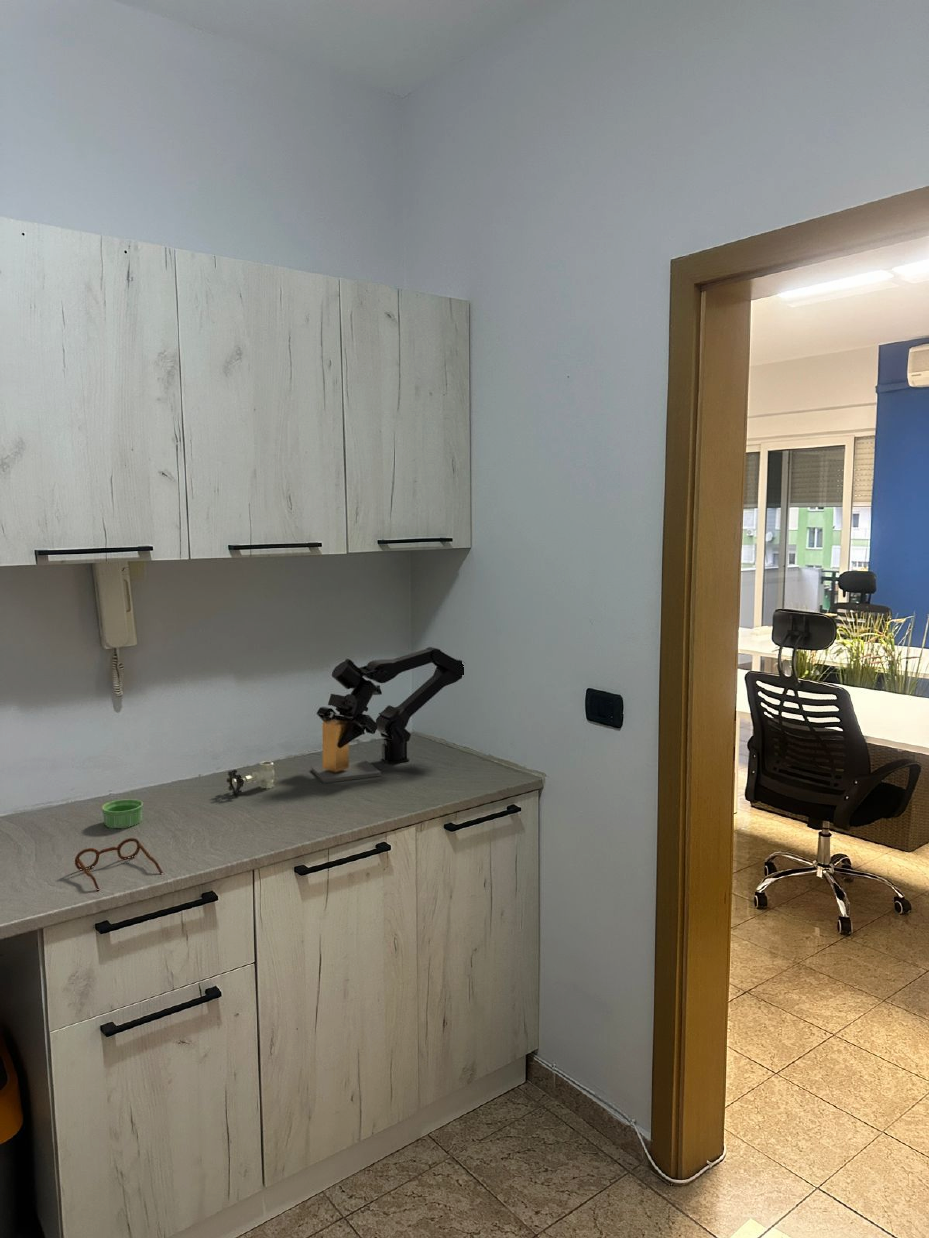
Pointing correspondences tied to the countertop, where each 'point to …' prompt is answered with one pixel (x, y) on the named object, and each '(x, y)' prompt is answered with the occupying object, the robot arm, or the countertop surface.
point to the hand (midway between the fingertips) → (331, 745)
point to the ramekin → (122, 813)
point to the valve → (253, 778)
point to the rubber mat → (347, 772)
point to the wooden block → (334, 746)
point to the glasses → (111, 850)
